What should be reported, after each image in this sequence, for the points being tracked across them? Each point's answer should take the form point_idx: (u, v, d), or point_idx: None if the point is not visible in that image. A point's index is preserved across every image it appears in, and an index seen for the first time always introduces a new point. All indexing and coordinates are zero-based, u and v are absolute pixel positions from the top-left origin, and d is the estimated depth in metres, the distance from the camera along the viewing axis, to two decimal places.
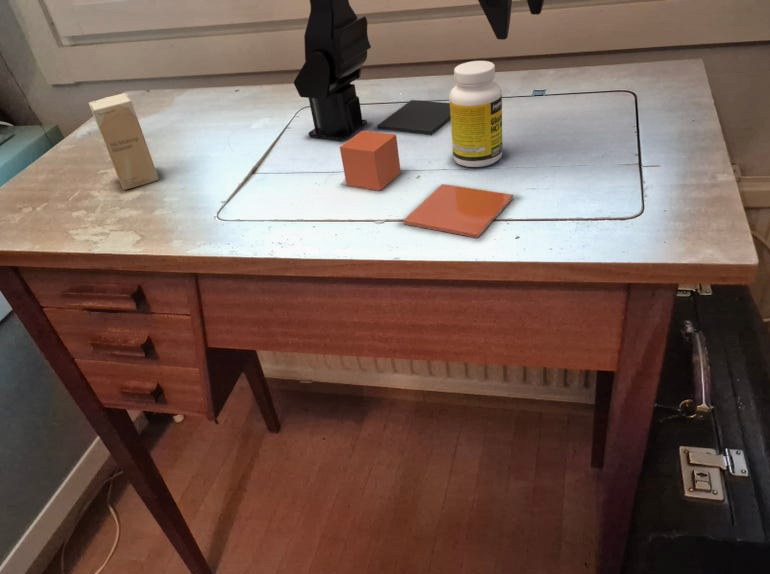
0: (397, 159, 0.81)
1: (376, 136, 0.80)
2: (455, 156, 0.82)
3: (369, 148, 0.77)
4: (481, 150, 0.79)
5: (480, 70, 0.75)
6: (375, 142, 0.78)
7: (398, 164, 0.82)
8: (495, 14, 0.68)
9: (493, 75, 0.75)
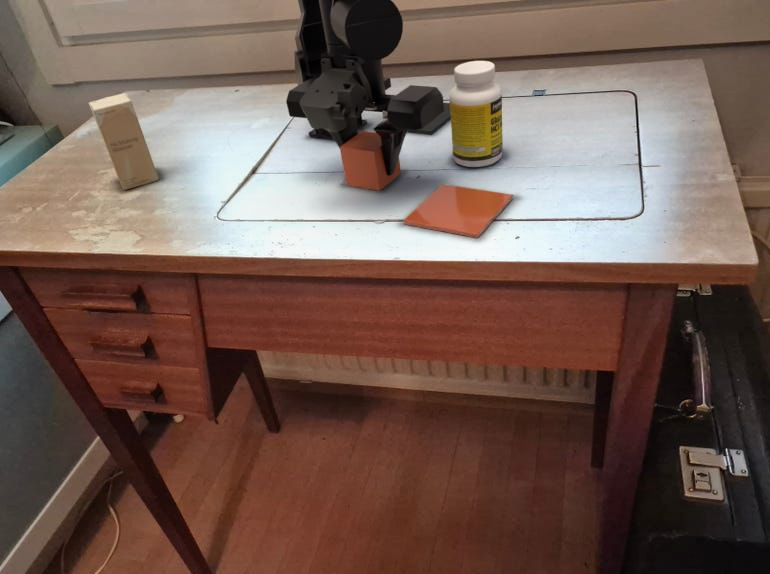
0: None
1: (376, 136, 0.80)
2: (455, 156, 0.82)
3: (370, 148, 0.77)
4: (481, 150, 0.79)
5: (480, 70, 0.75)
6: (375, 142, 0.78)
7: (398, 164, 0.82)
8: None
9: (493, 75, 0.75)
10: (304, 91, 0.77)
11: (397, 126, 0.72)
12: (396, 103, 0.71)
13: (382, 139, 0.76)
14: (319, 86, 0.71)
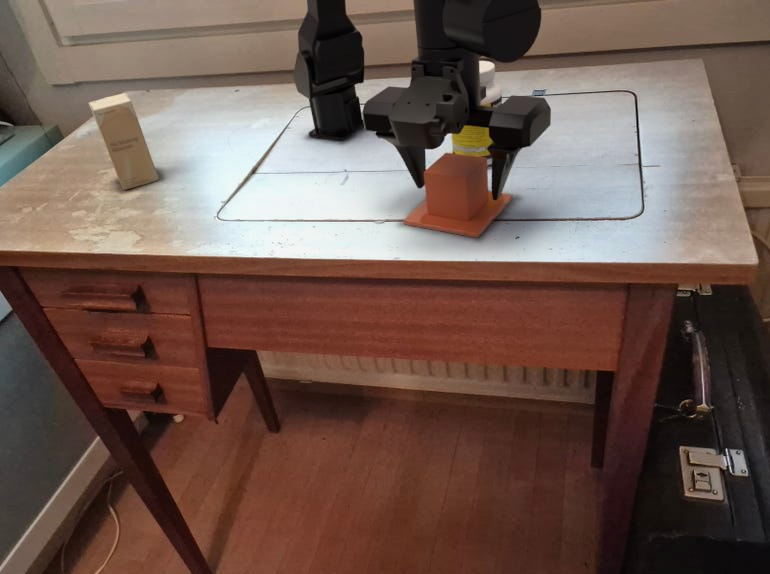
0: (486, 185, 0.72)
1: (464, 159, 0.70)
2: None
3: (460, 174, 0.68)
4: (481, 150, 0.79)
5: (480, 70, 0.75)
6: (465, 167, 0.69)
7: (486, 190, 0.72)
8: None
9: (493, 75, 0.75)
10: (385, 102, 0.67)
11: (500, 143, 0.62)
12: (501, 117, 0.61)
13: (494, 159, 0.65)
14: (410, 97, 0.61)
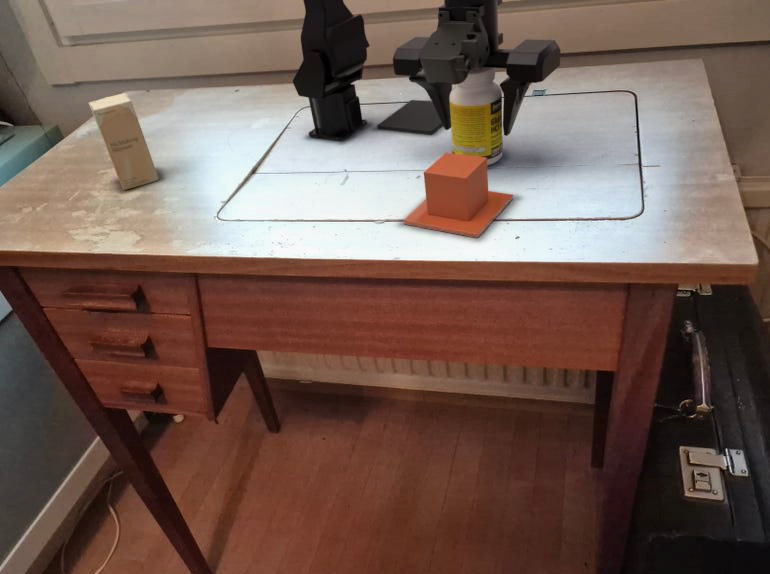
0: (486, 185, 0.72)
1: (464, 159, 0.70)
2: None
3: (460, 174, 0.68)
4: (481, 150, 0.79)
5: (481, 70, 0.75)
6: (465, 167, 0.69)
7: (486, 190, 0.72)
8: None
9: (493, 75, 0.75)
10: (413, 48, 0.76)
11: (516, 79, 0.71)
12: (517, 55, 0.70)
13: (505, 96, 0.74)
14: (438, 39, 0.70)
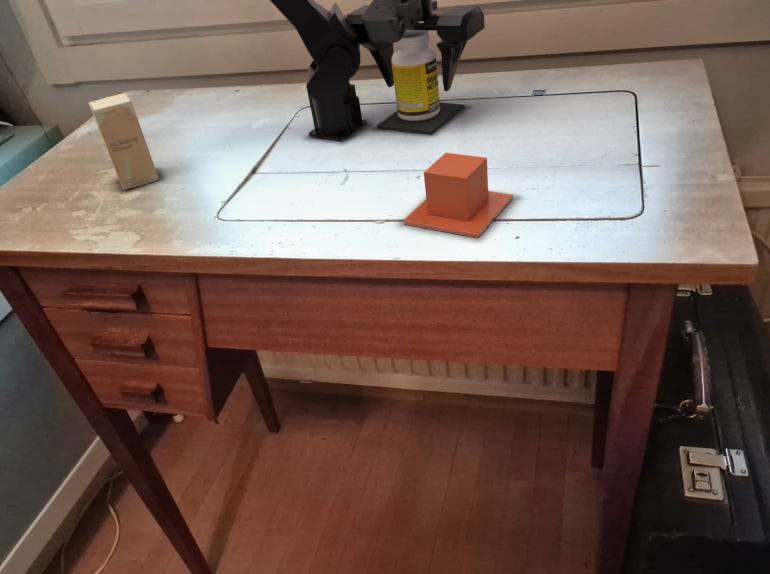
0: (486, 185, 0.72)
1: (464, 159, 0.70)
2: (398, 112, 0.94)
3: (460, 174, 0.68)
4: (419, 106, 0.92)
5: (416, 35, 0.87)
6: (465, 167, 0.69)
7: (486, 190, 0.72)
8: None
9: (426, 39, 0.88)
10: (361, 14, 0.88)
11: (445, 39, 0.83)
12: (445, 18, 0.82)
13: (442, 55, 0.86)
14: (378, 4, 0.82)
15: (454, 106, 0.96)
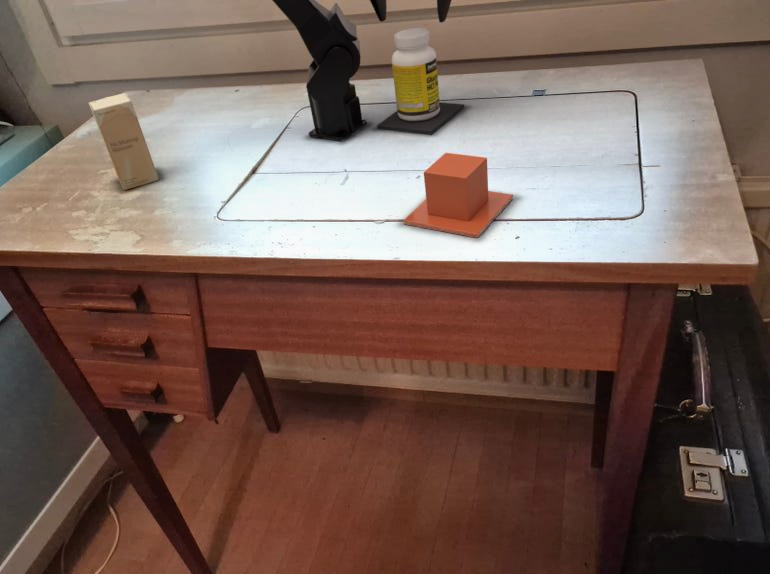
0: (486, 185, 0.72)
1: (464, 159, 0.70)
2: (398, 112, 0.94)
3: (460, 174, 0.68)
4: (419, 106, 0.92)
5: (416, 35, 0.87)
6: (465, 167, 0.69)
7: (486, 190, 0.72)
8: None
9: (427, 39, 0.88)
10: None
11: None
12: None
13: None
14: None
15: (454, 106, 0.96)
